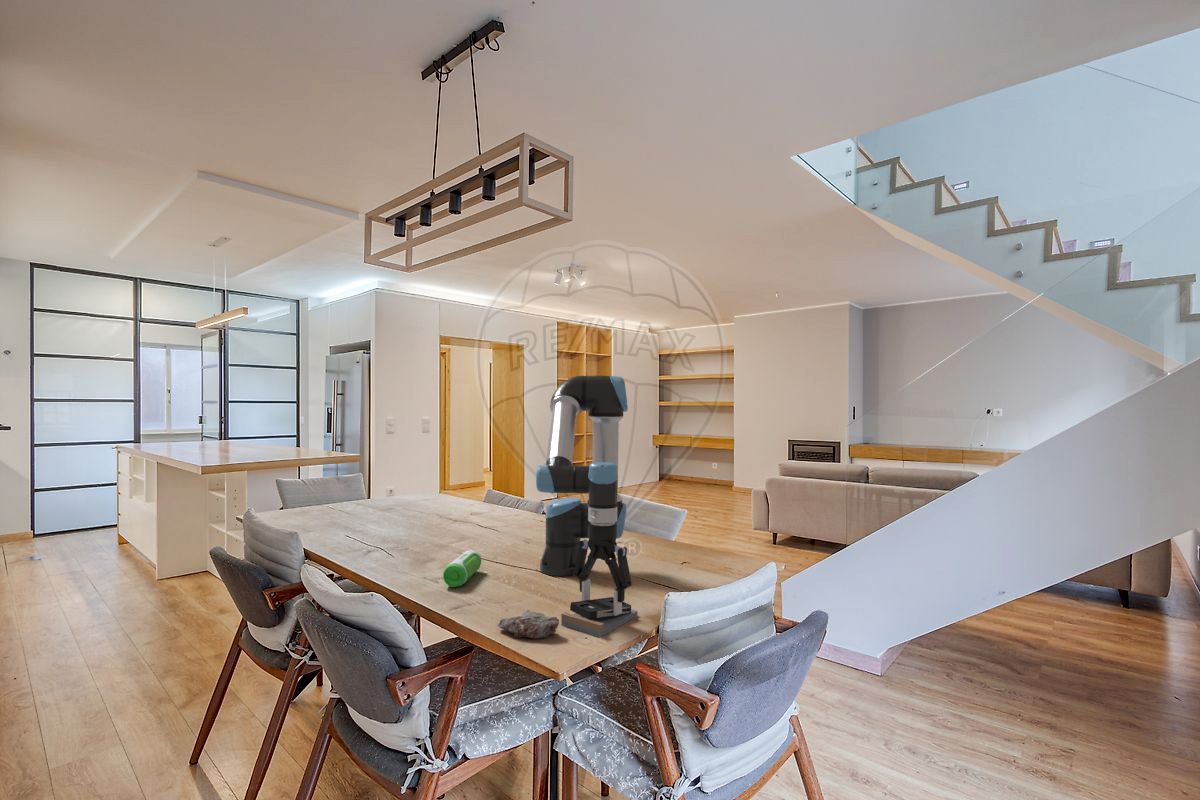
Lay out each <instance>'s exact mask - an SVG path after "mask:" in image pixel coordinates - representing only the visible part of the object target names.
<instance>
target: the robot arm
mask: <svg viewBox="0 0 1200 800" xmlns="http://www.w3.org/2000/svg"><path fill="white" fill-rule="evenodd" d="M549 408H550V413H551V414H552V415H551V421H550V429H549V438H548V443H547V444H548V446H547V453H546V459H545V464H543V465H538V466H537V469H536V475H535V478H536V479H535V483H536V485H535V486H536V489H537V491H538V492H540V493H547V494H588V497H587V502H582V499H581V498H579V497H566V498H565V497H564V498H560V499H559V498H558V499H555V500H552V501H550V502H549V503H548V504H547V505H546V507H545V508H546V509H545V510H546V511H545V517H544V518H545V546H544V550H543V553H542V556H541V560H540V562H539V571H540V572H541V573H542V574H543V573H544V574H546V575H549V576H557V577H558V576H559V577H569V576H573V577H574V578H575V577H577V578H578V580H579V592H580V593H581V601H585V600H591V579H589V578H590V573H591V572H592V570H593V567H594V565H595V564H596V562H597V561H598V560H601V561H604V562H605V564H606V565H607V566H608V568H609V572H610V574H611V577H612V579H613V582H614V585H615V587H616V588H614V589H613V598H614V615H615V616H617V615H619V614H620V613H622V602H625V599H626V596H625V592H626V591H625V590H626V589H628V588H630V587H632V586H633V585H632V583H633V582H632V578H631V573H630V568H629V562H628V556H627V555H628V548H627V547H626V546H624V547H623V546H622V547H621V546H618V544H617V539H620V538H621V537H622V536H623V534H624V530H625V529H624V528H625V524H626V515H627V514H626V513H627V504H626V503H624V502H623V497H622V496H621V495H620V494H619V493H618V492H619V436H620V434H619V429H620V427H619V425H620V424H619V423H620V421H621V420H622V419H623V418H624V413H625V412H628V411H629V408H628V397H627V388H626V383H625V379H624V378H623V377H622V376H618V375H617V376H616V375H576V376H571V377H569V378H568V379H565V380H564V381H563V382H562V383H561V384H560V385H559V386H557V388H556V389H555V391H554V393H553V394H552V396H551V399H550V404H549ZM580 411H584V412H588V414H587V415H588V418H589V419H590V420H591V422H592V461H591V463H590V464H589V465H573V462H574V461H573V459H574V445H575V438H576V437H575V435H576V425H577V424H576V423H577V421H576V420H577V416H578V415H579V413H580ZM581 539H583V540H581ZM588 550H590V552H589V553H588ZM587 554H588V556H587Z"/></svg>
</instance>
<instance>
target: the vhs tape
mask: <svg viewBox="0 0 1200 800" xmlns="http://www.w3.org/2000/svg"><path fill="white" fill-rule="evenodd" d="M569 606H570V607H569V610H570V611H571V612H573V613H574V614H575V613H577V614H579V615H581V616H583V617H585V618H587V619H590V620H591V619H597V618H603V617H609V616H615V615H614V596H609V597H601V598H594V599H590V600H585V601H582V600H580V601H571V602H570V605H569ZM631 609H632V605H631V604H630V603H627V602H625V601H623V602H622V613H620V614H619V615H622V614H628V613H631Z"/></svg>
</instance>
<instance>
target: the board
mask: <svg viewBox="0 0 1200 800" xmlns="http://www.w3.org/2000/svg"><path fill="white" fill-rule="evenodd" d="M637 616H638V610H637V609H636V610H635V609H632V608H631V613H628V614H622V615H617V616H609V617H603V618H597V619H591V620H590V619H587V618H585V617H583V616H581V615H579V614H577V613H575V612H574V614H573V613H569V612H568V611H565V612H562V613H561V616H560V617H561V619H560V621H561V623H560V625H561V626H563V627H567V628H570V629H572V630H576V631H579V632H583V633H587V634H590V635H593V636H595V637H599V638H601V637H603V636H605V635H606V634H608V633H611V631H613V630H615V629H617V628H618V627H621V626H622V625H624V624H625V623H627V622H629V621H630V620H632V619H634V618H636V617H637Z"/></svg>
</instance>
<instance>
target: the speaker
mask: <svg viewBox="0 0 1200 800" xmlns="http://www.w3.org/2000/svg"><path fill="white" fill-rule="evenodd" d="M481 565H482V556H481V555H480V553H479V552H478V551H476V550H472V549H471V550H466V551H464V552H463V553H461V554H460V555H459V556H458V557H456V558H455V559H454V560H453V561H451V562H450V563H449V564H447V566H446V567H445V569H444V571H443V575H442V577H443V581H444V583H445V584H446V585H447V586H449V587H452V588H457V587H460V586H462V585H464V584H466V583H467V582H468V581H469V580H470V579H472V577H473V576H474V575H475V573H477V572H478V571H479V570H480V568H481Z"/></svg>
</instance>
